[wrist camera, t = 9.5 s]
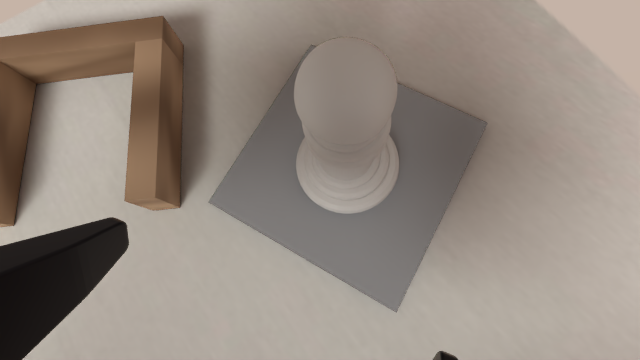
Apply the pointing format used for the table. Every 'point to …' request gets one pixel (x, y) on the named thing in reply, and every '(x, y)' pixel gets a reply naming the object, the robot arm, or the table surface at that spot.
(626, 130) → the table surface
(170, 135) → the wooden u-shaped pawn holder
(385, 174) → the chess piece
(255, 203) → the slate pad
